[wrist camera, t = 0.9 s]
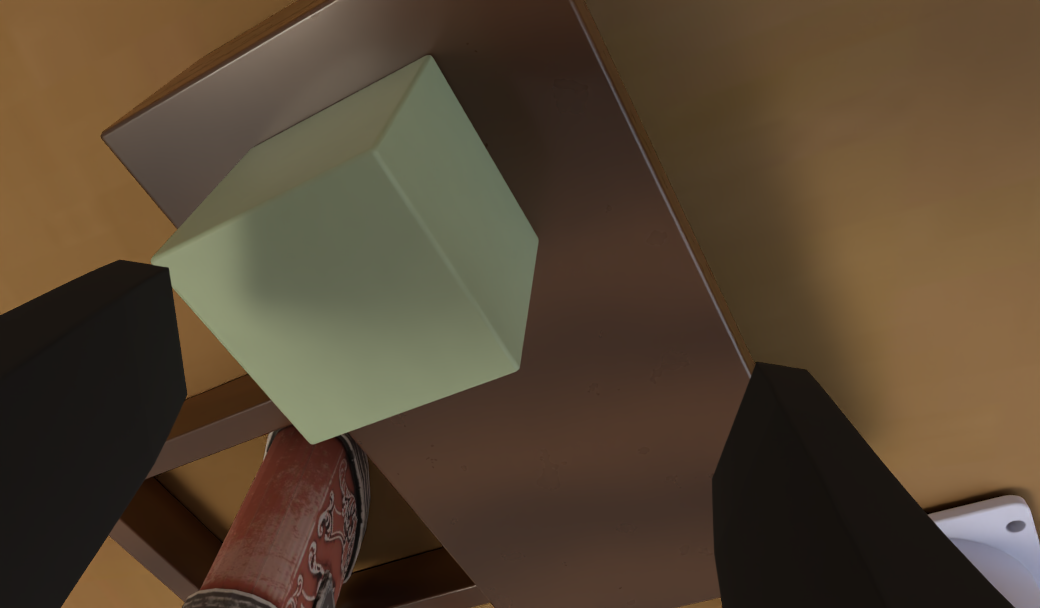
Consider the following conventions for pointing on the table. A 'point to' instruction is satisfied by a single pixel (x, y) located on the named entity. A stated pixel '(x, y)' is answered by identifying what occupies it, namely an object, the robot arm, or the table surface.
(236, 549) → the lighter
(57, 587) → the robot arm
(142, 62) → the table surface
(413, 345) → the sage block
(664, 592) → the wooden display riser
